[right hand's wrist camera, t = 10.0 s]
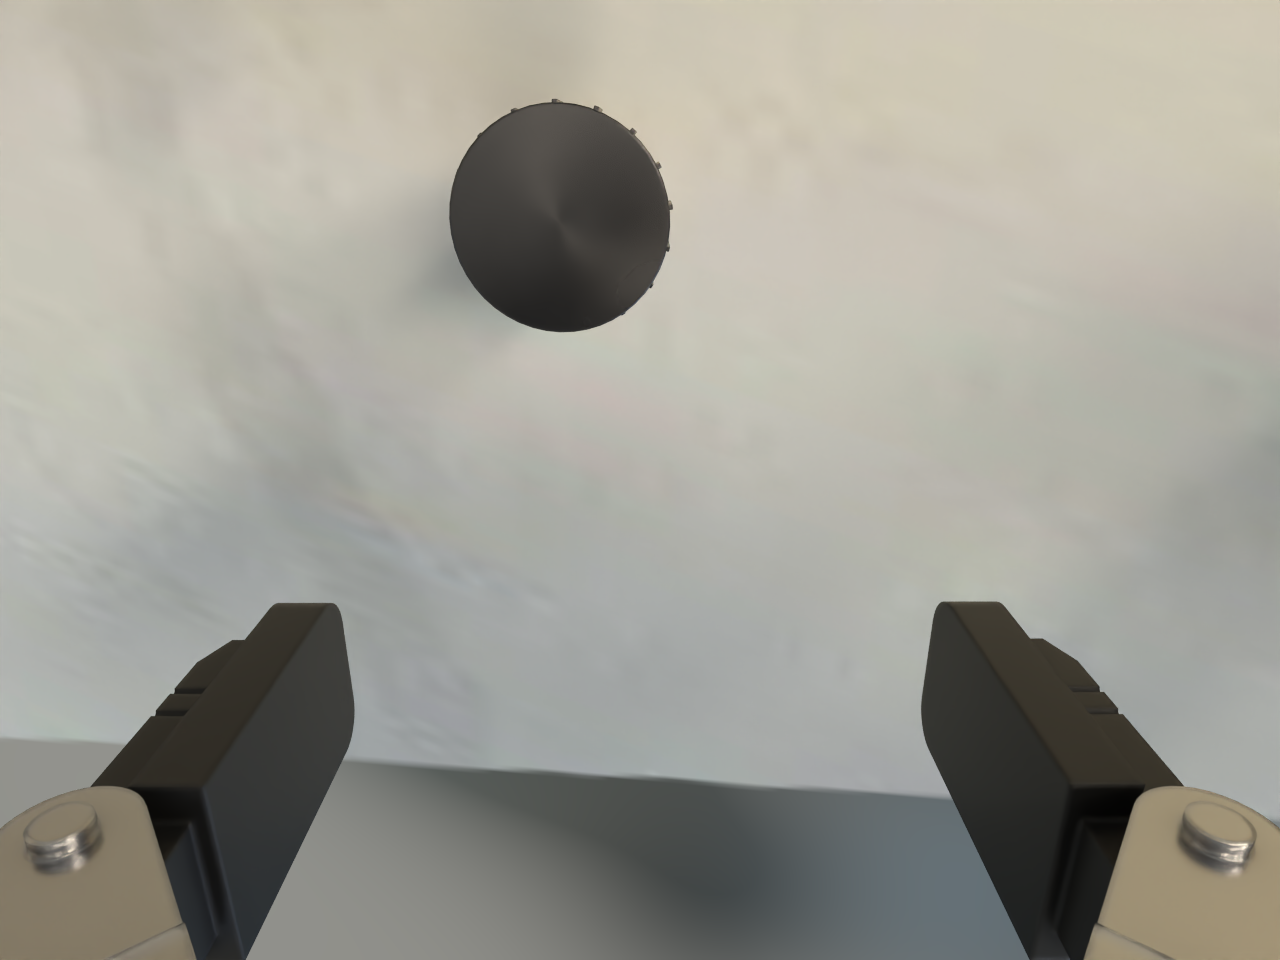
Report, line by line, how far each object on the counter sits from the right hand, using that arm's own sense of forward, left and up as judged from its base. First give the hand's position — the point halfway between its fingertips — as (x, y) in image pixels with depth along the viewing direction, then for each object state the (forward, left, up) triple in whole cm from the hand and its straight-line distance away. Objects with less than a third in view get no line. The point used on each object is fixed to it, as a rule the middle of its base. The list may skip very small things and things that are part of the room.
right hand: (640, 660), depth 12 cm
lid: (-2, -5, -10) cm, 11 cm away
